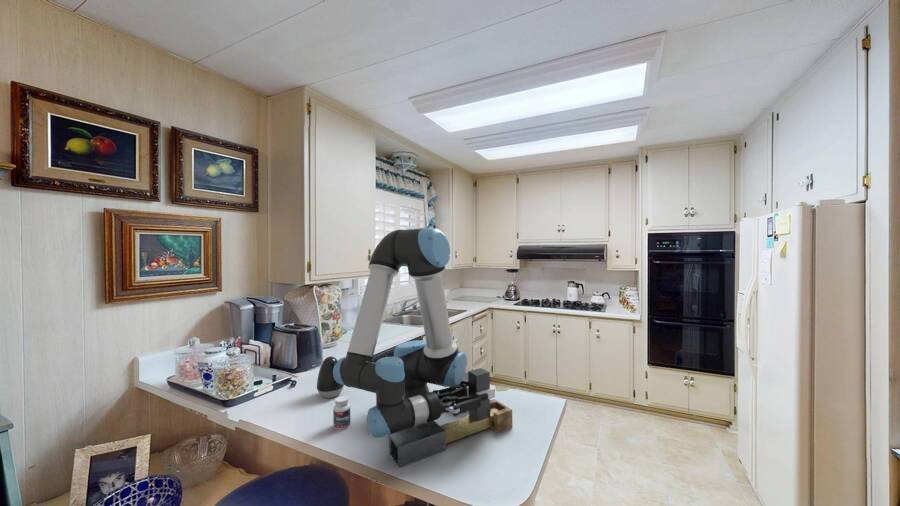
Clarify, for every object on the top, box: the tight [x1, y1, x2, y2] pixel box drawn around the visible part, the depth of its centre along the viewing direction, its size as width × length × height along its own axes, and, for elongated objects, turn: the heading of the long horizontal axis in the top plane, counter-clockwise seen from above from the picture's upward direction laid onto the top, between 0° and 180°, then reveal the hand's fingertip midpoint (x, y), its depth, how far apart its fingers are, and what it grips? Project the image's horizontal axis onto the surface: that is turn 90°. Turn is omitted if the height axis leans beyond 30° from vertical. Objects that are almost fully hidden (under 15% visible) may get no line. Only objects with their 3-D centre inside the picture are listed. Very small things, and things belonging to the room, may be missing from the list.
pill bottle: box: [332, 395, 351, 431], centre depth 109 cm, size 5×5×9 cm
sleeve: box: [388, 420, 447, 468], centre depth 94 cm, size 14×7×6 cm, turn 121°
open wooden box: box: [489, 398, 514, 434], centre depth 109 cm, size 6×9×6 cm, turn 31°
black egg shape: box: [316, 356, 345, 399], centre depth 132 cm, size 10×10×15 cm
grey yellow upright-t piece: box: [439, 367, 499, 444], centre depth 103 cm, size 24×4×17 cm, turn 121°
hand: (488, 389), depth 107 cm, fingers closed on grey yellow upright-t piece, 5 cm apart
